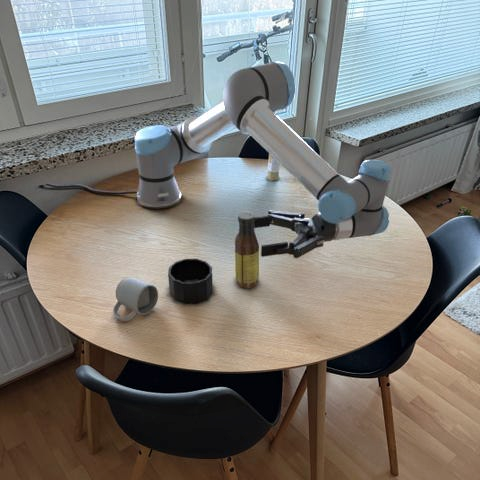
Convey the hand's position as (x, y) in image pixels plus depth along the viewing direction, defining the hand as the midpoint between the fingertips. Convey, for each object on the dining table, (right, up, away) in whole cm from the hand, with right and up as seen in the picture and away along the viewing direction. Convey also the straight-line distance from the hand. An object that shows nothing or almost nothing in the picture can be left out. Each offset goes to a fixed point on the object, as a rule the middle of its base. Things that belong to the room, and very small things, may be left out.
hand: (252, 237), depth 109 cm
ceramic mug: (-29, -18, -1) cm, 35 cm away
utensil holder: (-16, -13, +5) cm, 21 cm away
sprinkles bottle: (+10, +34, +60) cm, 70 cm away
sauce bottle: (-2, -11, +9) cm, 14 cm away
